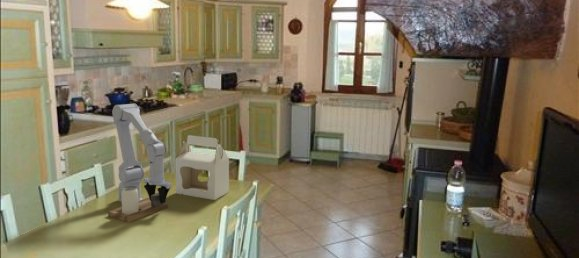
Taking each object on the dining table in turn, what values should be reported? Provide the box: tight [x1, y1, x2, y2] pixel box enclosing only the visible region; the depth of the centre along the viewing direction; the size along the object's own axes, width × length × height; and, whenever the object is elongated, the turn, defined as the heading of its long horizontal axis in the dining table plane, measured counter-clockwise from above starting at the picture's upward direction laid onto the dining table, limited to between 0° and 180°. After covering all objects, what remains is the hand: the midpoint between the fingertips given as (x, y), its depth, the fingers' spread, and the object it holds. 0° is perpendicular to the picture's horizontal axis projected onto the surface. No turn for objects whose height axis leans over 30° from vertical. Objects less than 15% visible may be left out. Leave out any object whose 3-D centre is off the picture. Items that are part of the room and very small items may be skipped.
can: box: [121, 186, 139, 215], centre depth 185 cm, size 6×6×12 cm
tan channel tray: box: [107, 192, 168, 223], centre depth 190 cm, size 12×21×7 cm, turn 150°
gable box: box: [175, 134, 230, 201], centre depth 215 cm, size 22×13×28 cm, turn 68°
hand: (157, 201), depth 192 cm, fingers open, 6 cm apart
